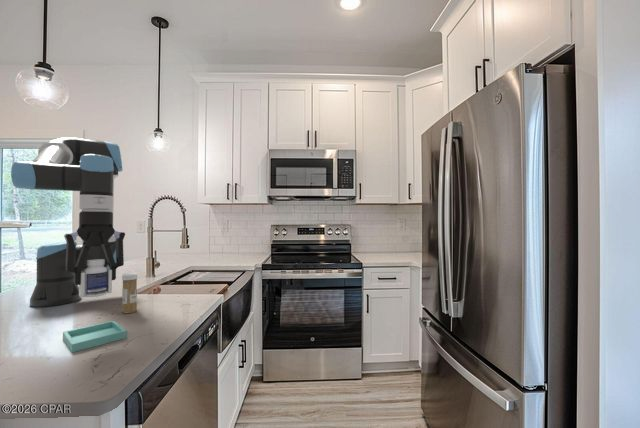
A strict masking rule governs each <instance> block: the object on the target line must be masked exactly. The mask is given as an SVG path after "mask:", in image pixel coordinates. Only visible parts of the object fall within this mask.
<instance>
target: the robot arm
mask: <svg viewBox="0 0 640 428" xmlns="http://www.w3.org/2000/svg"><path fill="white" fill-rule="evenodd" d="M37 152H38V153H37V155H36V157H34V158H33V160H32V161H29V160H25V161H21V160H20V161H17V160H16V161H14V162H13V163H12V164H11V169H10V171H11V172H10V179H11V183H12V185H13V187H14V188H17V189H26V190H31V191H33V190H36V191H37V190H38V191H40V190H41V191H42V190H44V191H46V190H47V191H63V192H64V191H65V192H67V191H69V192H79V198H78V199H79V204H78V205H79V207H78V208H79V210H81V211H80V212H79V214H78V216H79V218H78V228H77V230H76V231H75V232H71V233H65V234H64V236H63V237H64V239H65V241H61V242H53V243H48V244H44V245H41V246H39V247H37V252H36V257H35V259H36V284H35V286H34V289H33V291H32V293H31V297H30V298H29V306H31V307H33V308H34V307H35V308H36V307H37V308H39V307H40V308H43V307H54V306H60V305H61V306H62V305H66V304H69V303H74V302H77V301H79V300H81V299H82V298H86V297H85V273H84V270H85V269H86V268H88V266H87V261H88V260H95V259H104V260H105V265H104V267H106V268H107V269H108V283H107V294H112V292H113V291H112V289H113V288H112V287H113V283H112V282H113V281H115V280H116V278H117V269H118V268H119V267H123V266H124V264H125V263H124V262H125V260H124V259H125V258H124V239H125V236H126V233H125V232H123V231H118V230H117V231H116V230H115V229H114V200H115V199H114V193H115V191H114V190H115V189H114V188H115V186H114V185H115V184H114V182H115V179H116V178H117V177H119V173H121V172H122V171H123V162H122V161H123V160H122V155H121V149H120V146H119V145H118V144H117V143H115V142H110V141H109V142H108V141H104V140H94V139H85V138H79V137H60V138H55V139H50V140H48V141H46V142H44V143H43V144H41V146H39V148H38V151H37ZM77 237H79V238H80V240H82V243H81V244H78V243H77V241H76V240H77Z"/></svg>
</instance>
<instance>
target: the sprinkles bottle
mask: <svg viewBox="0 0 640 428" xmlns="http://www.w3.org/2000/svg"><path fill="white" fill-rule="evenodd" d="M121 280H122V289H121V291H122V298H121V300H122V302H121V303H122V310H121V313H123V314H131V313H134V312H136V311H138V307H137V301H138V288H137V287H138V285H137V283H138V281H137V280H138V273H136V272H127V273H123V274H122V276H121Z"/></svg>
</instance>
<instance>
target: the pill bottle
mask: <svg viewBox="0 0 640 428" xmlns="http://www.w3.org/2000/svg"><path fill="white" fill-rule="evenodd" d="M104 265H105V260H104V259H95V260H88V261H87V266H88V268H86V269H85V270H84V273H85V297H84V298H98V297H102V296H104V295H107V294H108V293H107V283H108V269H107V268H106V267H104Z"/></svg>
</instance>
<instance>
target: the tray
mask: <svg viewBox="0 0 640 428" xmlns="http://www.w3.org/2000/svg"><path fill="white" fill-rule="evenodd" d="M127 338H128V330H127V329H125V328H124V327H123V326H121V324H119V323H118V322H117V321H115V320H110V321H105V322H101V323H100V322H99V323H96V324H93V325H88V326H83V327H82V326H81V327H79V328H73V329H70V330H65V331H63V332H62V340H63V341H64V343H65V345H66V346H67V348H68V349H69V351H70V352H71V353H75V352H79V351H82V350H86V349H87V350H88V349H90V348H93V347H97V346H101V345H104V344H108V343H112V342H116V341H119V340H123V339H124V340H125V339H127Z"/></svg>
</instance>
